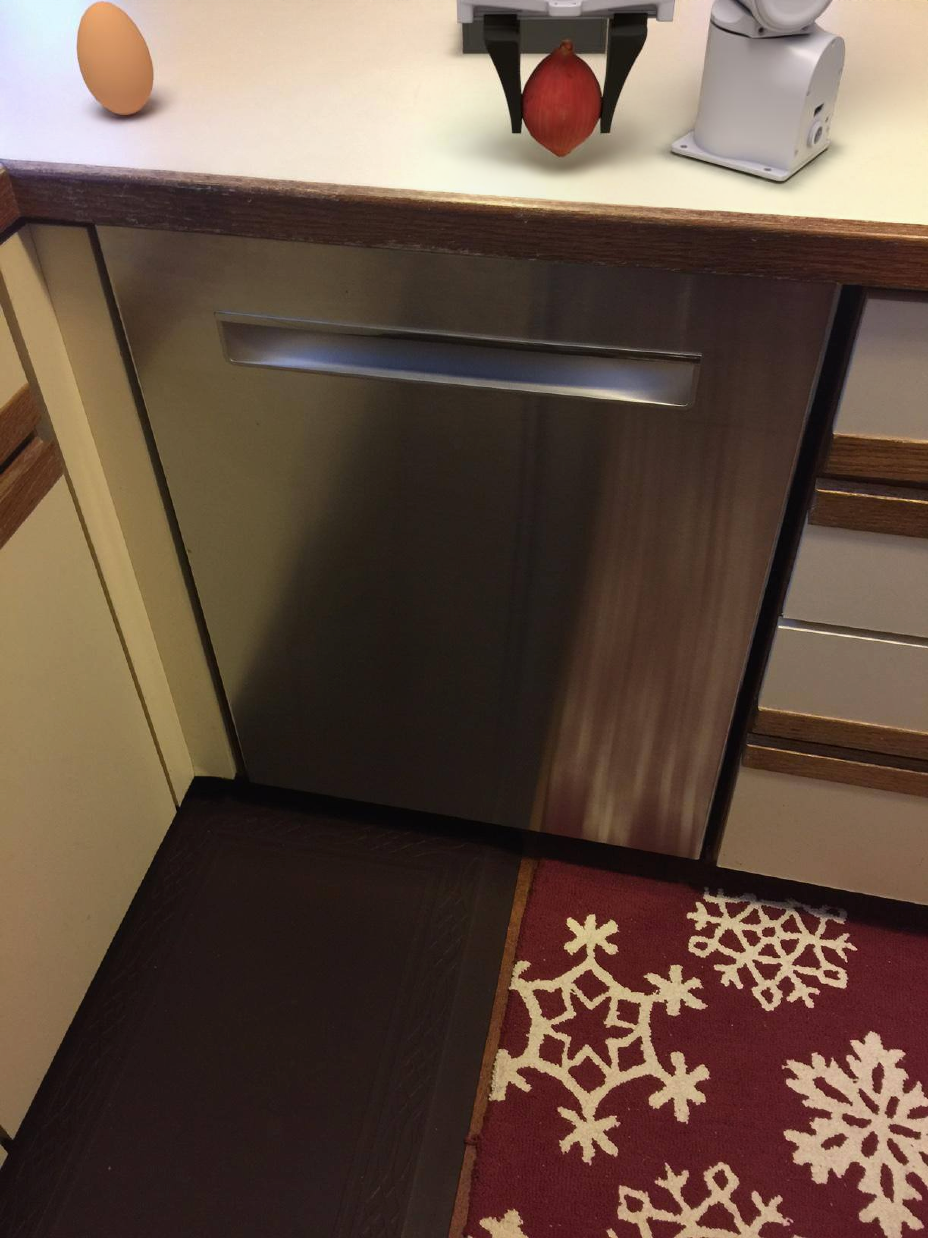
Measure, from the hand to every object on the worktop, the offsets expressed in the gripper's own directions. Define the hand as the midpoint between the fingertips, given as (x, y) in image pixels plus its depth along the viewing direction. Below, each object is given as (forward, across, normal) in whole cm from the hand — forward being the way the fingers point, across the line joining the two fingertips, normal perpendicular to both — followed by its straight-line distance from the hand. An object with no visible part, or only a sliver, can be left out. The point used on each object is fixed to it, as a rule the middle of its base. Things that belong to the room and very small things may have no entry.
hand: (560, 128), depth 75 cm
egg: (+3, -36, +10) cm, 38 cm away
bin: (+3, -3, +28) cm, 29 cm away
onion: (+2, 0, 0) cm, 2 cm away
